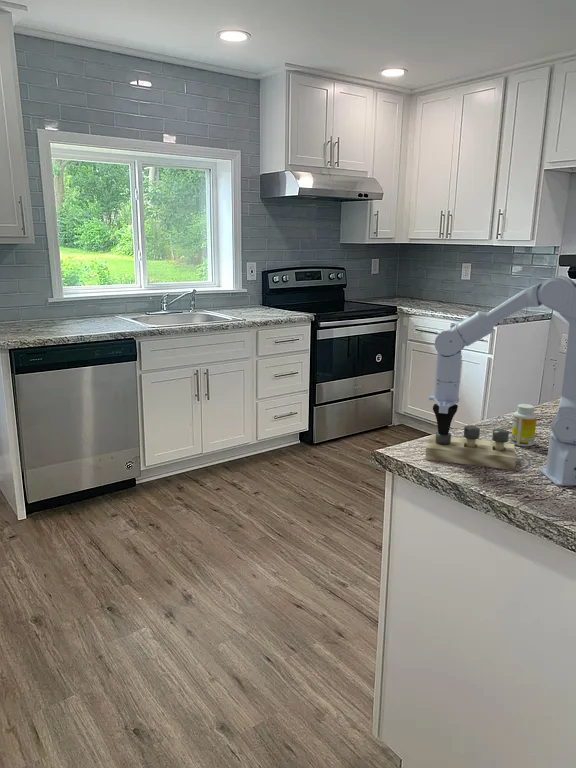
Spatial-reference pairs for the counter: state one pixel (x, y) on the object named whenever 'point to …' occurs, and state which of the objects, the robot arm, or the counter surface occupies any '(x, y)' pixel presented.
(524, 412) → the supplement bottle
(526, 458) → the counter surface
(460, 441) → the knob mount
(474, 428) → the knob middle
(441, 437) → the knob far
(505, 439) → the knob near
